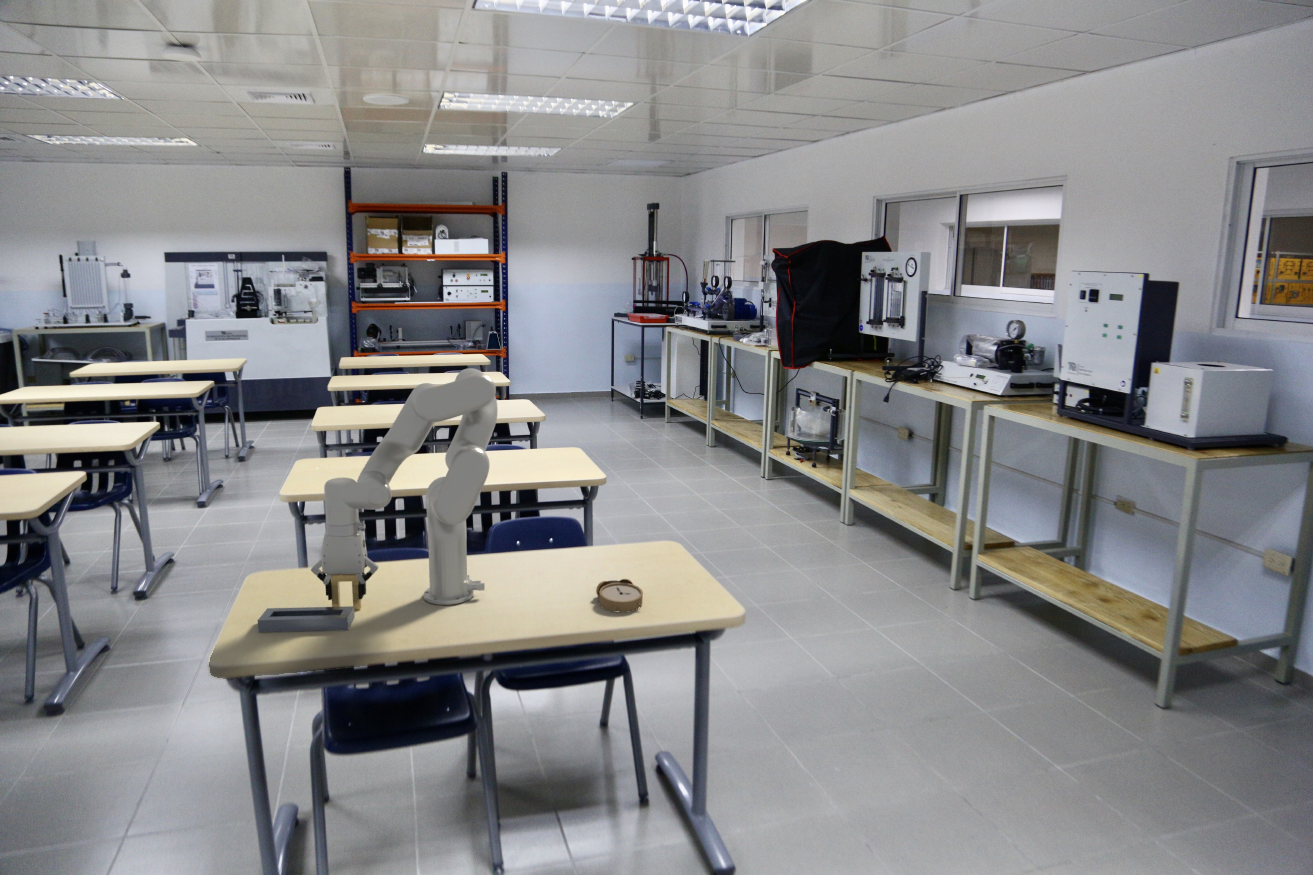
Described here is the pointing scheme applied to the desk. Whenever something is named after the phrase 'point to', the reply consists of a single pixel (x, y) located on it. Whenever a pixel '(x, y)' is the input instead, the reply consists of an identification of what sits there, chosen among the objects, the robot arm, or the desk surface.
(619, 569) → the desk surface
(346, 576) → the wooden u-shaped block
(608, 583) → the alarm clock
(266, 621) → the rail
